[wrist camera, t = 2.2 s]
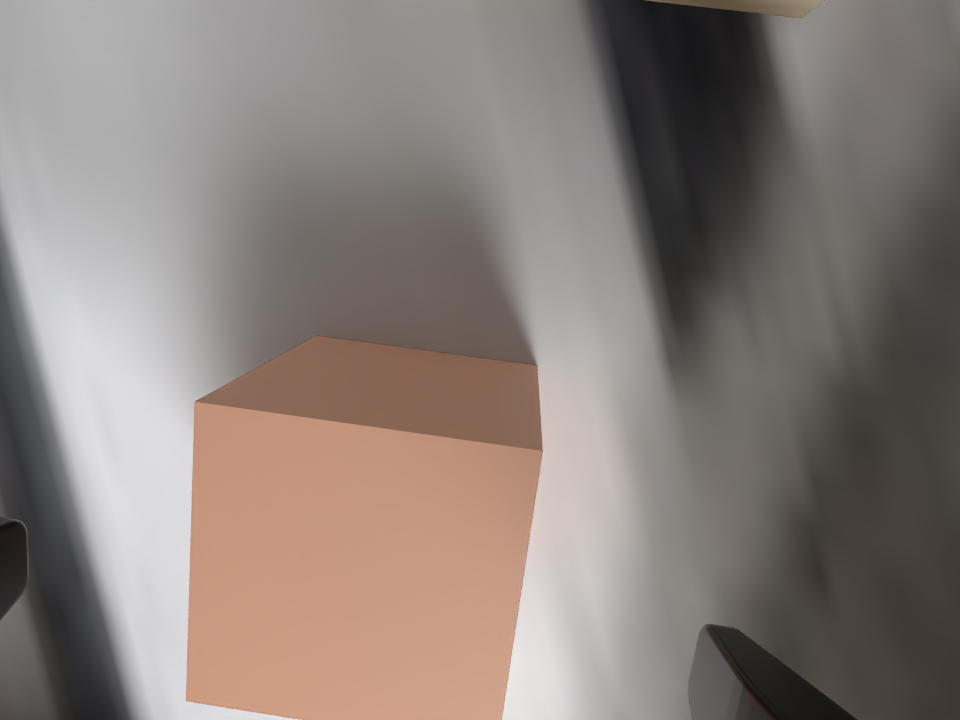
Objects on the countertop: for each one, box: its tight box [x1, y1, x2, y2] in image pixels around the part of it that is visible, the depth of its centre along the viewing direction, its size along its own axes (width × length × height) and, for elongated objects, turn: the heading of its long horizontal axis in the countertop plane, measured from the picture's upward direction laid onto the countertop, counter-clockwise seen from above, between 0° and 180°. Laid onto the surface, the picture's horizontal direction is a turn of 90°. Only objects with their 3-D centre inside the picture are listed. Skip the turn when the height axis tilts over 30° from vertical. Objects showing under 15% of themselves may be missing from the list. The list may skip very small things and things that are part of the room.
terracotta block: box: [186, 336, 543, 720], centre depth 11 cm, size 4×4×5 cm
